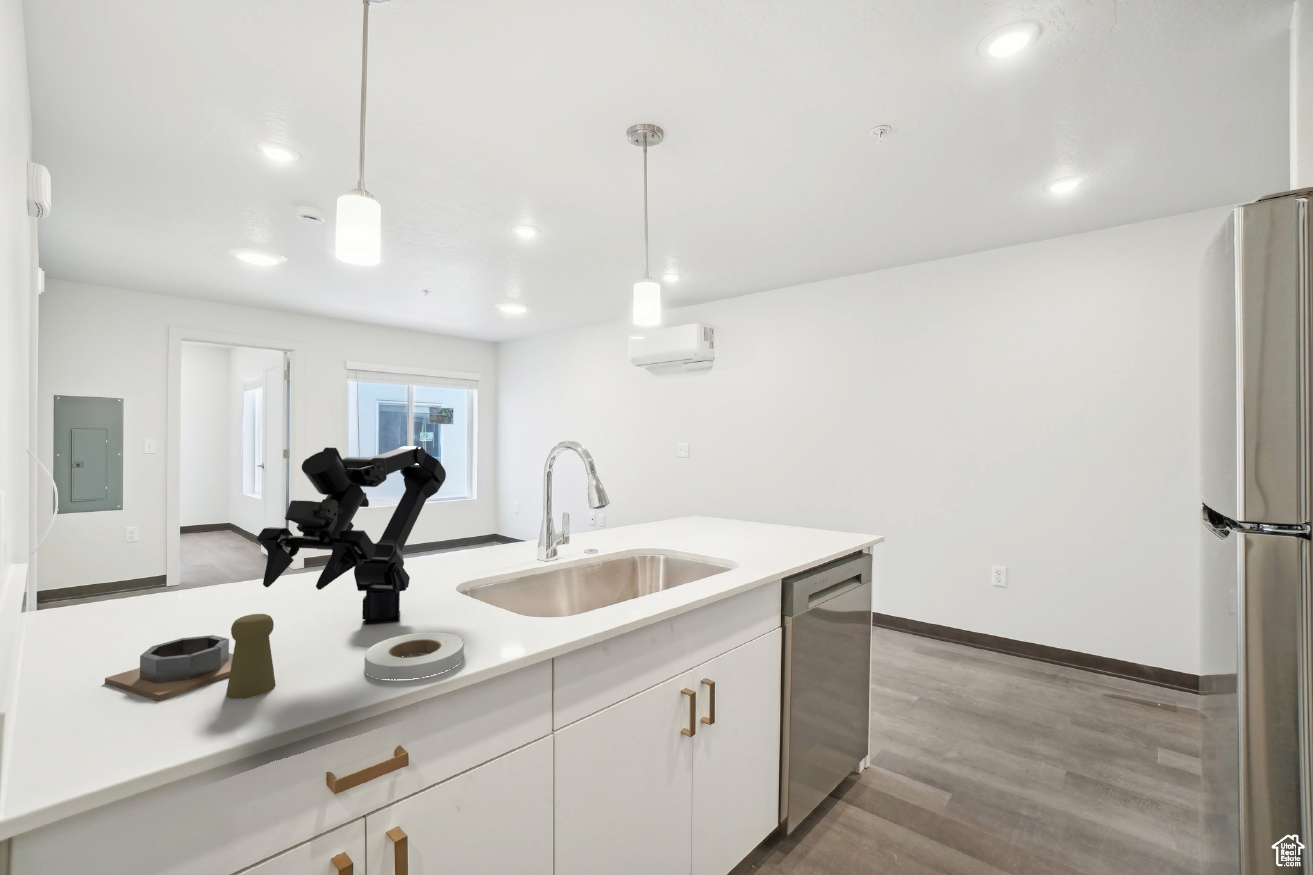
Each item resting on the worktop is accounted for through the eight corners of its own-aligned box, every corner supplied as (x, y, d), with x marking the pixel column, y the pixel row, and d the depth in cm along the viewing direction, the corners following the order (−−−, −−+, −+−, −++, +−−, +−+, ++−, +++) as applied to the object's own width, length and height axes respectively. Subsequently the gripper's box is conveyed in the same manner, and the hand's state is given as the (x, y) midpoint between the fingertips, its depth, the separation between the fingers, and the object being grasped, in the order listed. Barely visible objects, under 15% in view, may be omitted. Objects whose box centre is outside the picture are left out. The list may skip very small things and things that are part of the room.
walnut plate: (207, 652, 99) (207, 647, 99) (260, 665, 94) (260, 660, 94) (104, 683, 86) (104, 677, 86) (159, 700, 81) (159, 695, 81)
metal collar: (201, 653, 96) (202, 632, 96) (239, 663, 93) (240, 641, 93) (128, 675, 87) (129, 652, 87) (167, 687, 83) (167, 663, 83)
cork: (285, 682, 88) (286, 610, 88) (253, 699, 82) (255, 623, 82) (249, 680, 88) (250, 609, 88) (215, 697, 82) (216, 621, 82)
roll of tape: (387, 692, 85) (387, 673, 85) (350, 663, 96) (350, 646, 96) (480, 664, 97) (481, 647, 97) (438, 641, 107) (438, 626, 107)
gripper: (266, 481, 99) (208, 557, 88) (367, 483, 97) (321, 561, 86) (298, 520, 107) (249, 594, 96) (392, 523, 105) (353, 599, 94)
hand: (291, 587), depth 93 cm, fingers open, 9 cm apart
